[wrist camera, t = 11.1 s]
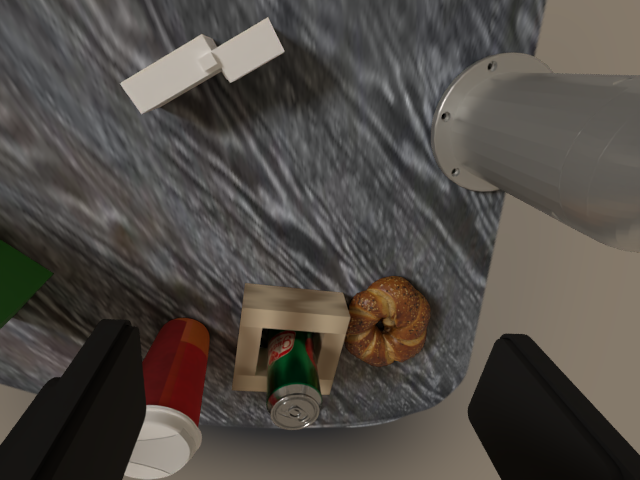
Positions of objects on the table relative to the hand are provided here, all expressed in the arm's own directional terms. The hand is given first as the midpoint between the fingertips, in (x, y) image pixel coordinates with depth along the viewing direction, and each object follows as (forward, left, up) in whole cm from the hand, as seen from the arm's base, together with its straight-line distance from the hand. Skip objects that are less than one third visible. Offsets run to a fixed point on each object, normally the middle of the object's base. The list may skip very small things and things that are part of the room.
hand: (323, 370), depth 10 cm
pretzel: (-14, +18, -28) cm, 36 cm away
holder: (-3, +20, -27) cm, 34 cm away
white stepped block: (+7, -6, -28) cm, 29 cm away
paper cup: (+8, +23, -28) cm, 37 cm away
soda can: (-3, +20, -28) cm, 34 cm away
